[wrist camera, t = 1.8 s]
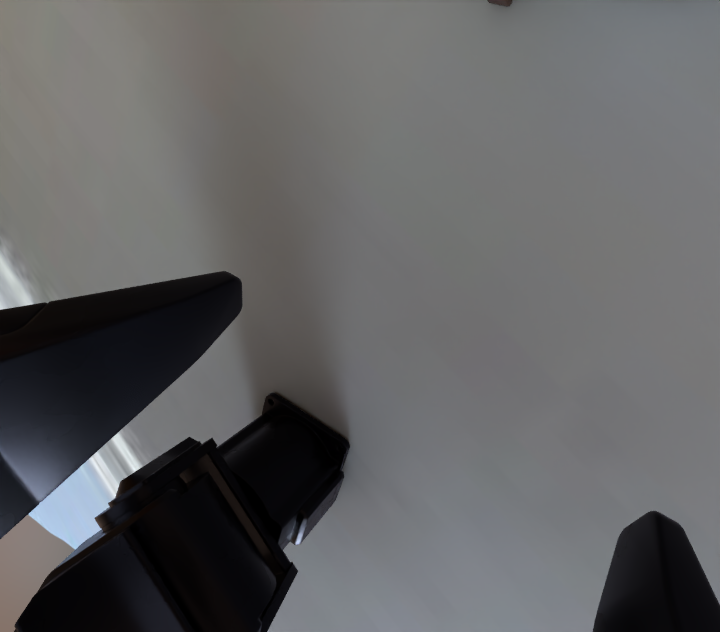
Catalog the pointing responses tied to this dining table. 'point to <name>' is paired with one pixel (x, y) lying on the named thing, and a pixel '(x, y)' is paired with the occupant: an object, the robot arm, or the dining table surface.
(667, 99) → the dining table surface
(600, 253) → the dining table surface
